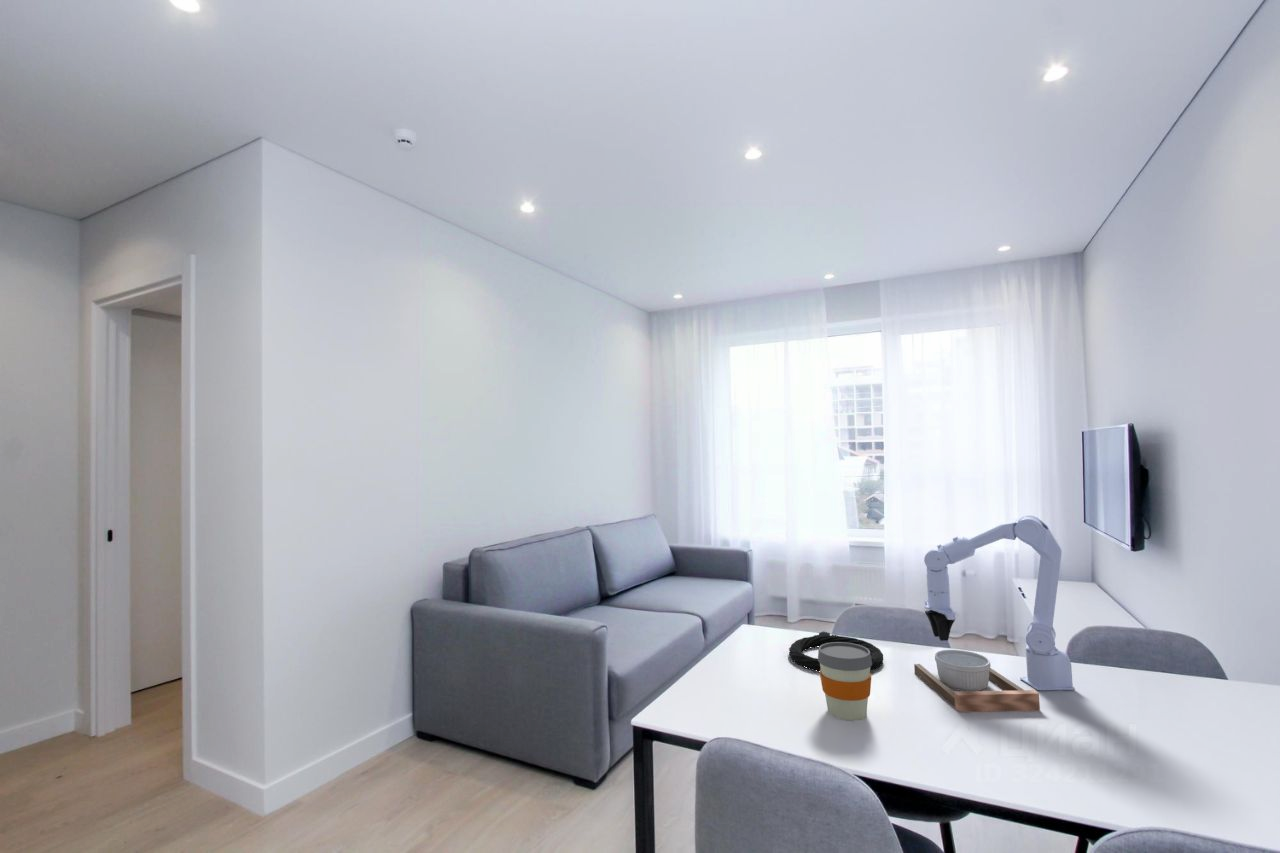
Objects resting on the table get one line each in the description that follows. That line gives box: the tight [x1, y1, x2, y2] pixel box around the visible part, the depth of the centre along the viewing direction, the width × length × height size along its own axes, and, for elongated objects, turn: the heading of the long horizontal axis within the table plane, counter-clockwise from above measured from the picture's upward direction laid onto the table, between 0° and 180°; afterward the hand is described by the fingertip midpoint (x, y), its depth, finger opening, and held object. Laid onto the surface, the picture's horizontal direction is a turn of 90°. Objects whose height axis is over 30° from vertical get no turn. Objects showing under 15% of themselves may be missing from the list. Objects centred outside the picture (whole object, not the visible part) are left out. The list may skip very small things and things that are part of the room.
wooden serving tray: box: [913, 663, 1041, 713], centre depth 153 cm, size 19×25×4 cm
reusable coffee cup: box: [817, 642, 872, 722], centre depth 144 cm, size 12×12×15 cm
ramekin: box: [934, 649, 991, 692], centre depth 158 cm, size 13×13×7 cm
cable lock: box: [788, 630, 884, 673], centre depth 181 cm, size 28×4×30 cm
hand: (941, 638), depth 170 cm, fingers open, 3 cm apart
